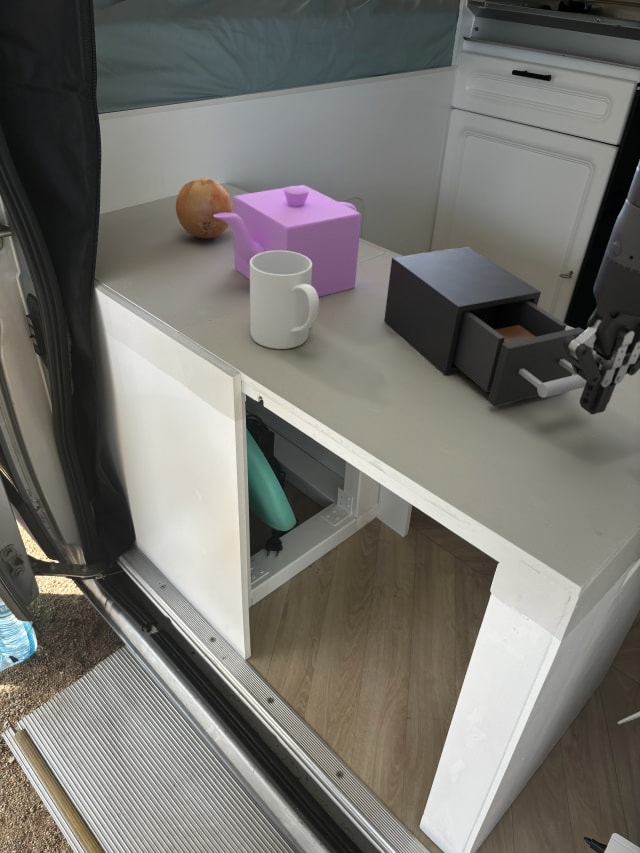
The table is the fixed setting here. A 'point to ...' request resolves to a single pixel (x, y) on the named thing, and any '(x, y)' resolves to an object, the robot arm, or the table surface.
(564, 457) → the table surface
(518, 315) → the drawer
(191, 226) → the onion
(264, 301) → the mug
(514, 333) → the block
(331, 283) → the teapot
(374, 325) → the table surface
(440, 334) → the cabinet
